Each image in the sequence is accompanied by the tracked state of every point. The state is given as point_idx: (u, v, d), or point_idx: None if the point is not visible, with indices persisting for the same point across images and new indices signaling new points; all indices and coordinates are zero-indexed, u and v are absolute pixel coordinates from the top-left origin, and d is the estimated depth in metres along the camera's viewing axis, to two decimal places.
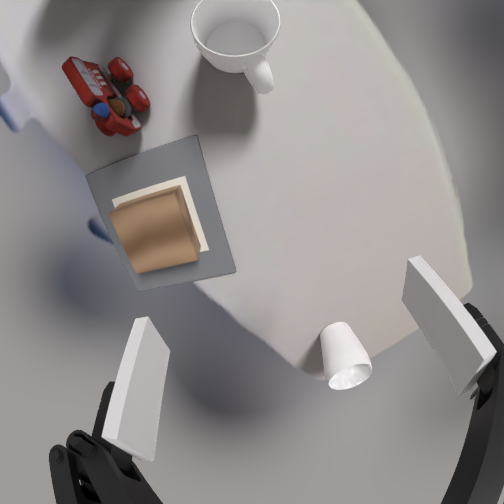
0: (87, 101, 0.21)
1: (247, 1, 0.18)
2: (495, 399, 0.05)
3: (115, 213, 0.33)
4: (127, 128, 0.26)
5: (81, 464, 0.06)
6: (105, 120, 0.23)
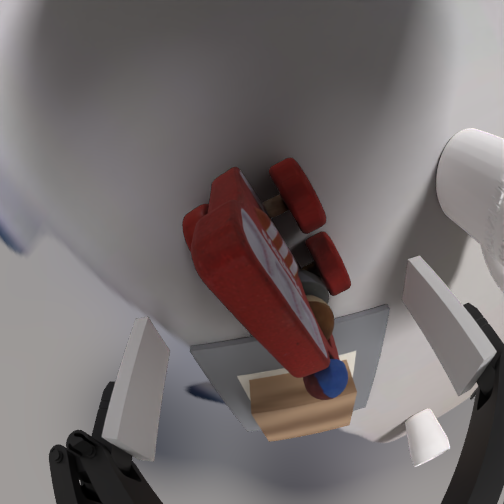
0: (307, 375, 0.10)
1: None
2: (495, 399, 0.05)
3: (262, 413, 0.22)
4: None
5: (81, 464, 0.06)
6: None
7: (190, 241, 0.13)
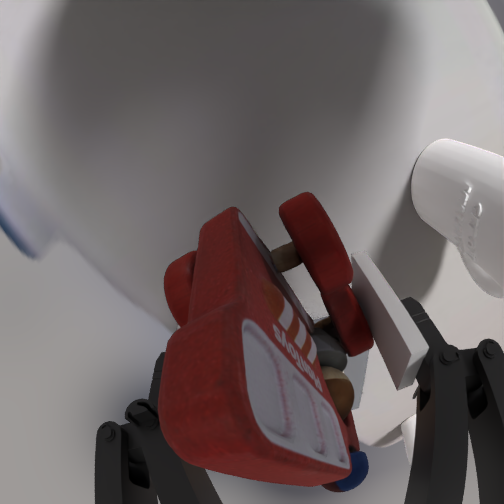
0: (323, 482, 0.06)
1: None
2: (434, 402, 0.06)
3: None
4: None
5: (134, 446, 0.07)
6: None
7: (173, 307, 0.10)
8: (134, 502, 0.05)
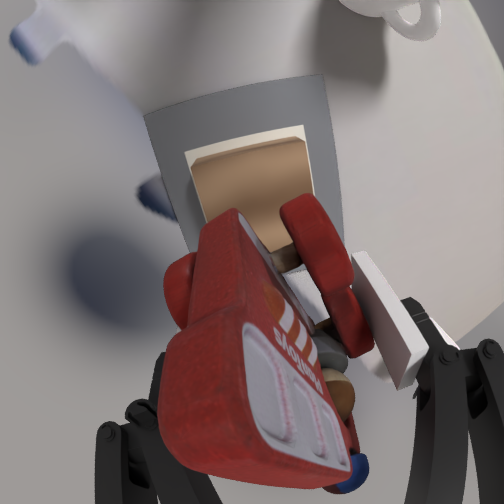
0: (324, 484, 0.06)
1: None
2: (434, 402, 0.06)
3: (202, 166, 0.22)
4: None
5: (134, 446, 0.07)
6: None
7: (173, 309, 0.10)
8: (134, 502, 0.05)
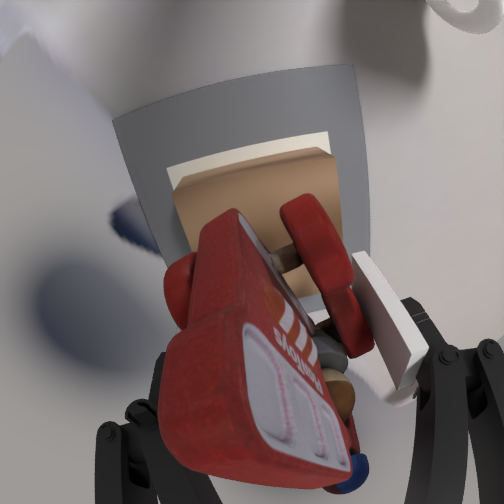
0: (324, 484, 0.06)
1: None
2: (434, 402, 0.06)
3: (188, 192, 0.16)
4: None
5: (135, 446, 0.07)
6: None
7: (173, 309, 0.10)
8: (134, 502, 0.05)
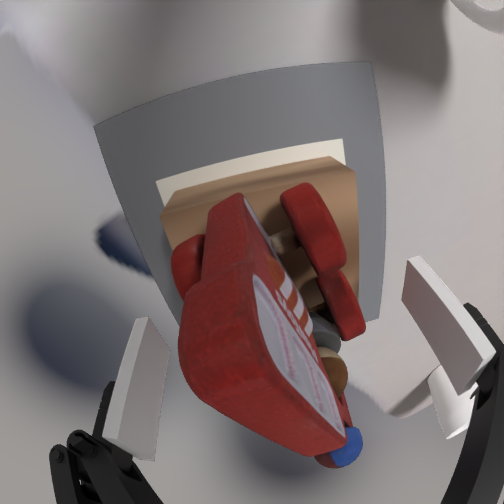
0: (320, 453, 0.07)
1: None
2: (495, 399, 0.05)
3: (179, 213, 0.13)
4: None
5: (81, 464, 0.06)
6: None
7: (180, 284, 0.11)
8: None
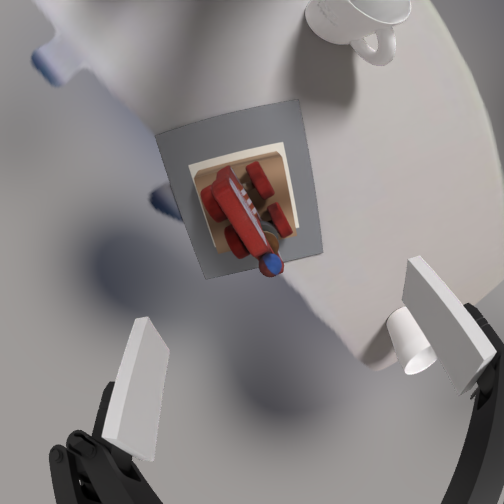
0: (258, 254, 0.23)
1: None
2: (495, 399, 0.05)
3: (202, 177, 0.29)
4: None
5: (81, 464, 0.06)
6: None
7: (204, 200, 0.27)
8: None
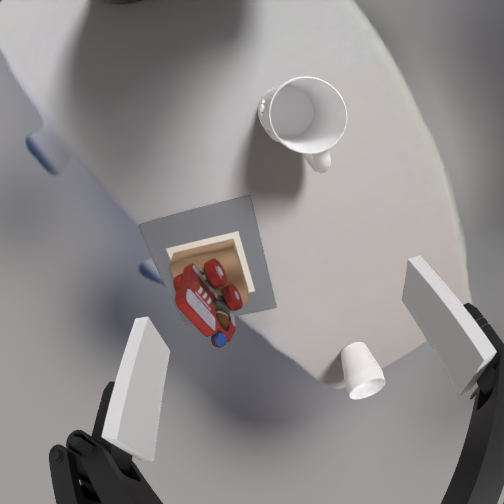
0: (208, 335, 0.33)
1: (312, 83, 0.24)
2: (495, 399, 0.05)
3: (175, 265, 0.39)
4: (232, 334, 0.39)
5: (81, 464, 0.06)
6: None
7: (176, 289, 0.37)
8: None
